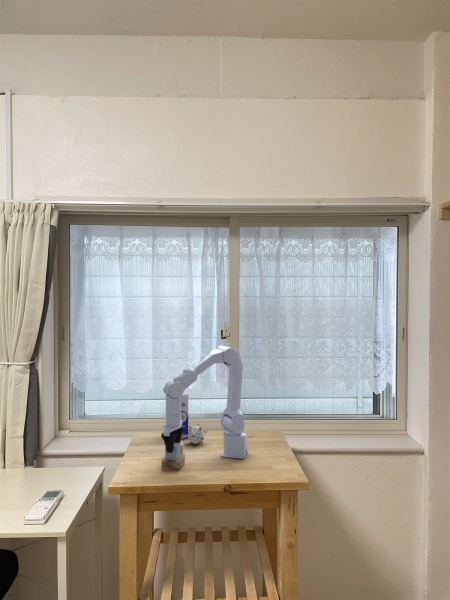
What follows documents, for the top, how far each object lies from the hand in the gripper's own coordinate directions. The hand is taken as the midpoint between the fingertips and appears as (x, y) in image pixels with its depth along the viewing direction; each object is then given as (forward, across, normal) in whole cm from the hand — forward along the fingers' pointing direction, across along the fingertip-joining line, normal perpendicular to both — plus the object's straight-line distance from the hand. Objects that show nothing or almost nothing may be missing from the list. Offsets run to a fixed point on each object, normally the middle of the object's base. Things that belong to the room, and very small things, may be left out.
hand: (173, 449), depth 161 cm
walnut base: (+7, 0, 0) cm, 7 cm away
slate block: (+3, 0, 0) cm, 3 cm away
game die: (+7, -25, +1) cm, 26 cm away
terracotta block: (+6, -10, -2) cm, 12 cm away
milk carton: (+7, -32, -9) cm, 34 cm away
